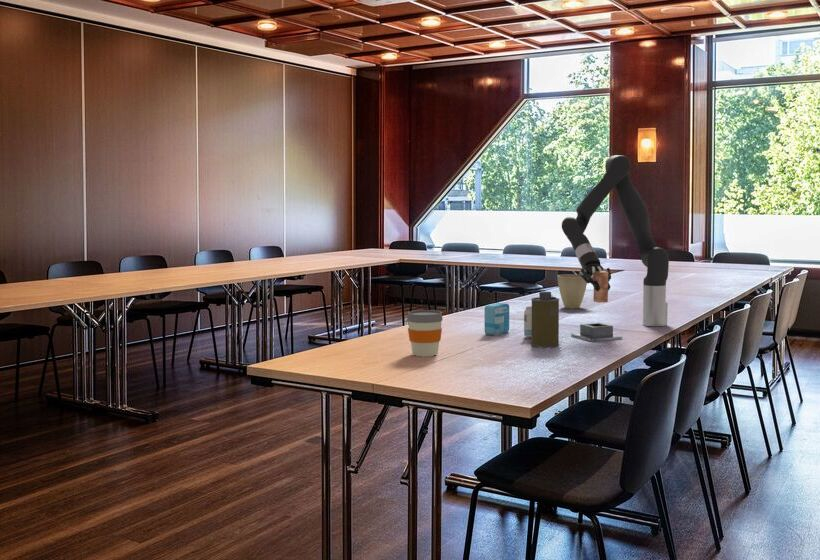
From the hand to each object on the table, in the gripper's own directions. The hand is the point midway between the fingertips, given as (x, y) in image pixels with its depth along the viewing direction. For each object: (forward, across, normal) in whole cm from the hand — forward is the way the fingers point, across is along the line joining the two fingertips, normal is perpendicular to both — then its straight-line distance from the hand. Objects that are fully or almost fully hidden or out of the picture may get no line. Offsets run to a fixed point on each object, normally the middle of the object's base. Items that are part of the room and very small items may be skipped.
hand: (603, 289), depth 331 cm
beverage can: (+9, -28, +18) cm, 34 cm away
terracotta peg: (+2, 0, +5) cm, 5 cm away
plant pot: (-40, +33, +67) cm, 85 cm away
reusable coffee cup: (+19, -80, +8) cm, 82 cm away
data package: (-2, -36, +28) cm, 46 cm away
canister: (+20, -32, +6) cm, 38 cm away
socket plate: (+16, -6, +10) cm, 20 cm away
